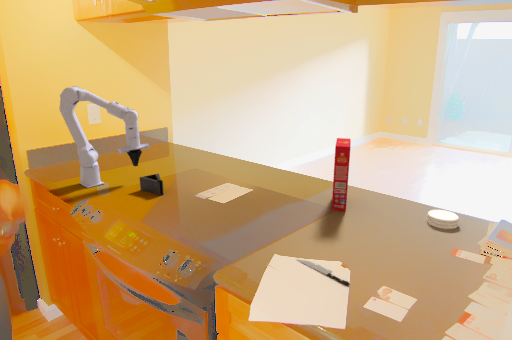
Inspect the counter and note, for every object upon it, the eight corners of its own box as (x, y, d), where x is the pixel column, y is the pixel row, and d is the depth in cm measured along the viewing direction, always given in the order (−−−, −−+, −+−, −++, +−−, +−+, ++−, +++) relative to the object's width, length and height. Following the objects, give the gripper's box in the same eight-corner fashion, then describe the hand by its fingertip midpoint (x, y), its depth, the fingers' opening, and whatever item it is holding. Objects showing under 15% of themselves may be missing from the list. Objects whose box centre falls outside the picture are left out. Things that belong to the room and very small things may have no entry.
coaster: (456, 232, 125) (457, 222, 124) (424, 225, 130) (425, 216, 129) (459, 221, 133) (460, 212, 132) (428, 215, 138) (430, 207, 137)
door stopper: (140, 190, 165) (151, 197, 156) (139, 177, 163) (150, 184, 154) (159, 186, 170) (171, 193, 161) (158, 173, 169) (170, 179, 160)
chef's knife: (299, 256, 111) (292, 259, 109) (299, 253, 110) (292, 255, 108) (354, 283, 97) (348, 287, 95) (355, 279, 97) (348, 283, 95)
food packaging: (345, 211, 142) (350, 146, 135) (331, 210, 143) (335, 146, 136) (346, 197, 156) (350, 138, 149) (333, 196, 157) (337, 138, 150)
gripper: (122, 140, 162) (125, 170, 166) (151, 135, 172) (154, 164, 176) (114, 138, 167) (117, 167, 171) (143, 133, 177) (146, 161, 181)
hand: (135, 165), depth 174 cm, fingers closed
